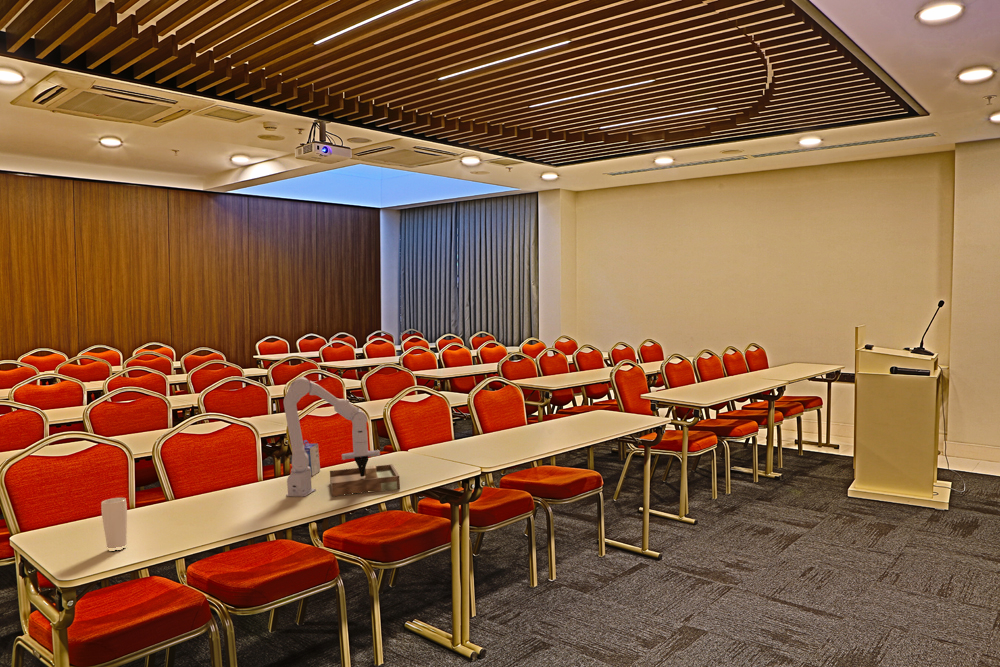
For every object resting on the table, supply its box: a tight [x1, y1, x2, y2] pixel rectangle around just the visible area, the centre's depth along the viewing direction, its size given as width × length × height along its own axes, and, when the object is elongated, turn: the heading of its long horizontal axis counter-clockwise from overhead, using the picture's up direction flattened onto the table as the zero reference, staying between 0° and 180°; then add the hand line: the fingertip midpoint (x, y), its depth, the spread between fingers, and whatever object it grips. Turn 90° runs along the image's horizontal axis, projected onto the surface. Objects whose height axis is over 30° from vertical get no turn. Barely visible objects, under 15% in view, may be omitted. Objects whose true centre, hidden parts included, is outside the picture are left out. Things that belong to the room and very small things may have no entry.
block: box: [365, 465, 377, 479], centre depth 284 cm, size 4×4×4 cm
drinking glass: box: [100, 497, 128, 548], centre depth 219 cm, size 7×7×15 cm
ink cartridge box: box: [303, 439, 321, 477], centre depth 308 cm, size 10×6×14 cm, turn 174°
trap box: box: [329, 463, 401, 497], centre depth 283 cm, size 25×22×5 cm
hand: (362, 475), depth 283 cm, fingers closed
